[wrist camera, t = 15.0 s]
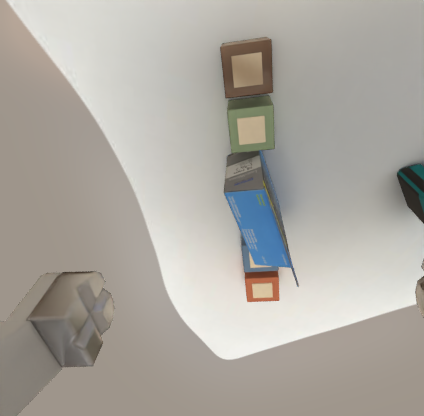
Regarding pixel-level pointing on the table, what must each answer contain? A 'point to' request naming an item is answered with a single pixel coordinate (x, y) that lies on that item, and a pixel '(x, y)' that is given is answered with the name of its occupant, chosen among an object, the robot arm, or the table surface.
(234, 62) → the walnut block
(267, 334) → the table surface
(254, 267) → the blue block
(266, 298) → the terracotta block
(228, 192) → the blue printed carton
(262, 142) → the sage block
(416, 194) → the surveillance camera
